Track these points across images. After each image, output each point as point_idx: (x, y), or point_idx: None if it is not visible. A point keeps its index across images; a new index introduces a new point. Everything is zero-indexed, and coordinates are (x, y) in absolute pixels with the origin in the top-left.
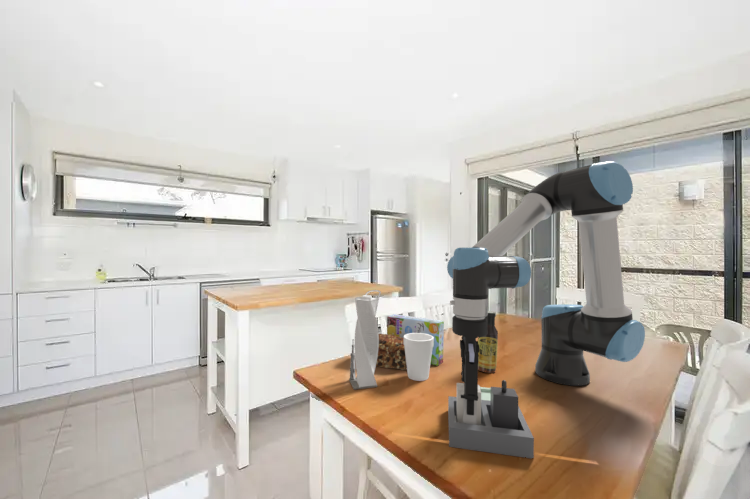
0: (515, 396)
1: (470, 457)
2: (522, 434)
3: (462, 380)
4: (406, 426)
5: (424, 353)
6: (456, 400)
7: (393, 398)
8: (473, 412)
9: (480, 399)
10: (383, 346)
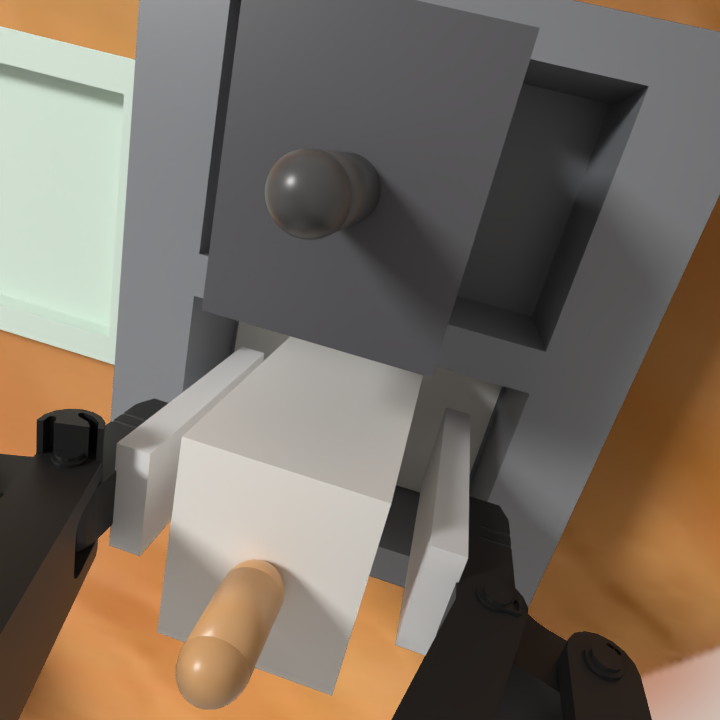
0: (512, 70)
1: (618, 473)
2: (705, 136)
3: (93, 559)
4: None
5: None
6: None
7: (69, 652)
8: (509, 530)
9: (398, 466)
10: None
